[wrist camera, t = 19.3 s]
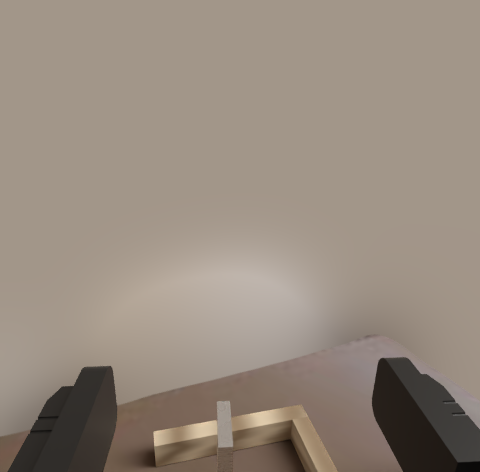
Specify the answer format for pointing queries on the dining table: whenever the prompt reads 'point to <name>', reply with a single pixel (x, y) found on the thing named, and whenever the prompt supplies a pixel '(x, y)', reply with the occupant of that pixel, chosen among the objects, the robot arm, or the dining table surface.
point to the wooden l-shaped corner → (246, 438)
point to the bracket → (224, 437)
